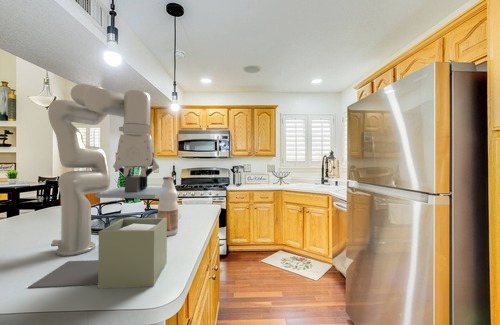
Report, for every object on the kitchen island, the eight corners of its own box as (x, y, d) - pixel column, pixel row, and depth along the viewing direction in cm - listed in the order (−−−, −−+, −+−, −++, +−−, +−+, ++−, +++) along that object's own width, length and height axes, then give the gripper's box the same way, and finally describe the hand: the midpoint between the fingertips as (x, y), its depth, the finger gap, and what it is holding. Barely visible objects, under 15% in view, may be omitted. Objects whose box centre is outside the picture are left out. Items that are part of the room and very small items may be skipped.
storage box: (98, 288, 66) (98, 231, 66) (121, 264, 81) (121, 218, 80) (153, 285, 67) (154, 230, 67) (166, 263, 82) (166, 217, 82)
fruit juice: (156, 237, 110) (156, 177, 110) (159, 231, 119) (159, 176, 119) (177, 235, 112) (177, 177, 112) (178, 230, 121) (179, 176, 121)
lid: (95, 197, 65) (95, 178, 65) (120, 190, 81) (120, 174, 81) (154, 198, 67) (155, 178, 67) (168, 190, 83) (168, 174, 83)
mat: (28, 288, 65) (27, 287, 65) (68, 262, 82) (68, 261, 82) (96, 285, 67) (96, 284, 67) (122, 260, 84) (122, 259, 84)
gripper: (103, 128, 69) (102, 190, 69) (161, 130, 71) (159, 191, 71) (114, 131, 77) (113, 187, 77) (167, 133, 78) (166, 188, 79)
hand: (136, 188), depth 74 cm, fingers closed on lid, 3 cm apart
